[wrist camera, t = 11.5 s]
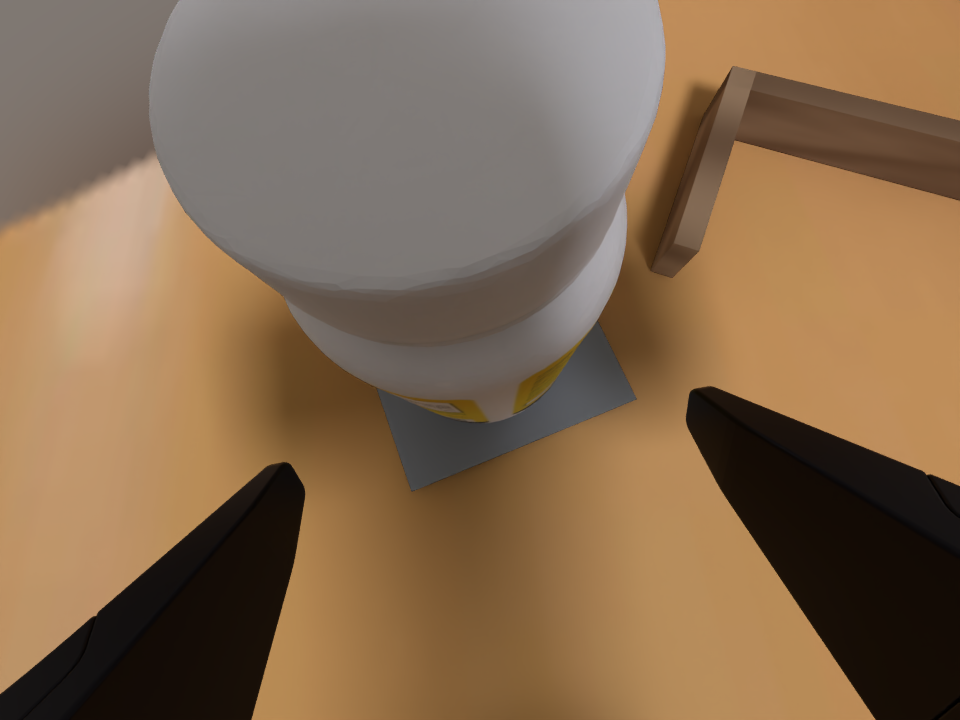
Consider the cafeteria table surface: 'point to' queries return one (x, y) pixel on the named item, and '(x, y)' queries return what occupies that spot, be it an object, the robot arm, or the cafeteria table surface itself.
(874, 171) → the u-shaped wooden frame
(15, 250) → the cafeteria table surface
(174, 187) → the supplement bottle
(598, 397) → the pad
